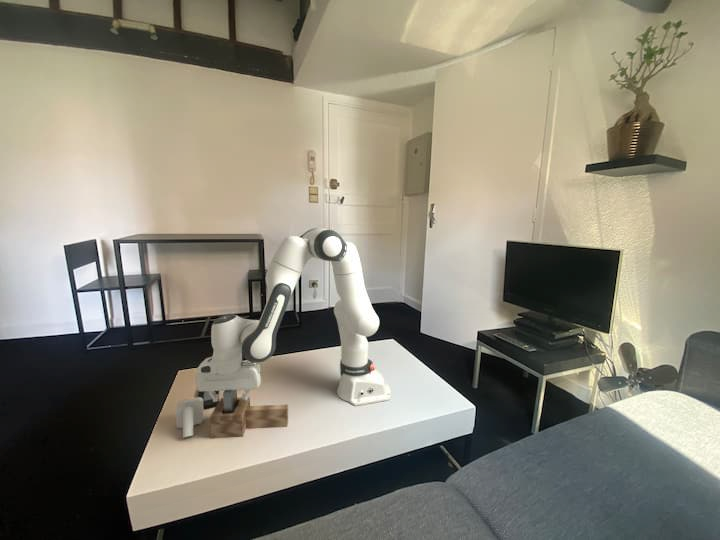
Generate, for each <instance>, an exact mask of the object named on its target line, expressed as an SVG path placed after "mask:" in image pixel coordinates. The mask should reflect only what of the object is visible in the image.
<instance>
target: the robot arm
mask: <svg viewBox="0 0 720 540" xmlns="http://www.w3.org/2000/svg"><path fill="white" fill-rule="evenodd" d="M312 258H314V259H316V260H317V259H318V260H322V261H326V262H330V263H331V266H332V272H333V279H334V284H335V289H336V293H337V294H338V297H339V300H337V301H336V303H335V304H334V306H333V307H334V308H333V314H334V316H335V319H336V322H337V328H338V332H339V333H338V334H339V337H340V338H339V339H340V346H341V347H340V352H341V354H340V361H339V362H340V363H339V376H340V377H339V383H338V387H337V391H336V394H337V396H338V397H339V398H340V399H342V400H343V401H346V402H348V403H350V404H351V405H353V406H355V407H356V406H363V405H368V404H373V403H379V402H381V403H382V402H385V401H389V400H390V399H391V396H392V392H391V388H390V386H389V384H388V383H387V382H386V380H385V378H384V375H383V374H382V373H381V372H380V371H378V370H377V369H376V366H375V365H374V363H373V361H372V359H371V358H369V342H368V339H367V338H368V337H371V336H373V335H374V334H376V332H377V331H378V329H379V328H380V327H379V326H380V318H379V316H378V314H377V313H376V311H375V309H374V307H373V306H372V303H371V300H370V297H369V295H368V292H367V289H366V285H365V280H364V275H363V274H364V273H363V267H362V263H361V259H360V255H359V252H358V250H357V246H356V245H355V244H354V243H353V242H350V241H345V240H344V239H343V237H342V236H341V235H340V233H338V232H337V231H335V230H332V229H328V228H325V227H324V228H323V227H321V228H320V227H319V228H311V229H309V230H307V231H306V232H304V233H303V234H302V235H300V236H297V235H288V236H286V237H285V238H284V239H283V240H282V242H281V243H280V245H279V246H278V248H277V249H276V250H275V253H274V254H273V256H272V258H271V260H270V262H269V264H268V268H267V270H266V275H265V284H266V292H267V297H266V303H265V306H264V309H263V311H262V314H261V316H260V318H259V319H247V318H244V317H241V316H239V315H237V314H235V313H229V314H224V315H221V316H219V317H217V318H216V319H214V320H213V323H212V325H211V331H210V332H211V333H210V334H211V335H210V338H211V341H210V342H211V346H212V349H213V354H212V356H210V357H206V358H205V359H204V360H203V361H201V362H200V364H199V365H198V367H197V375H196V379H195V386H196V390H197V391H198V392H199V391H209V394H210V396H211V397H212V398H213V402H218V400H219V401H220V394H219V395H217V394H216V393H215V391H219V392H220V391H223V392H224V391H225V390H237V391H242V390H244V393H243V394H242V396H241V397H242V401H246V400H247V398H248V397H249V396H248V395H249V393H250V392H251V391H250V390H257V389H259V388H260V385H261V383H262V377H261V374H260V373H261V365H260V364H259V363H262V362H265V361H267V360H269V359H270V358H271V357H272V356H273V355H274V353H275V351H276V346H277V334H278V331H279V328H280V326H281V323H282V320H283V317H284V315H285V313H286V310H287V309H288V308H287V307H288V305H289V302H290V299H291V296H292V294H293V292H294V290H295V288H296V286H297V283H298V281H299V280H300V277H301V275H302V273H303V270H304V267H305V265H306V264H307V263H308V261H309V260H311V259H312ZM243 359H245V360H246V361H243Z"/></svg>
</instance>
